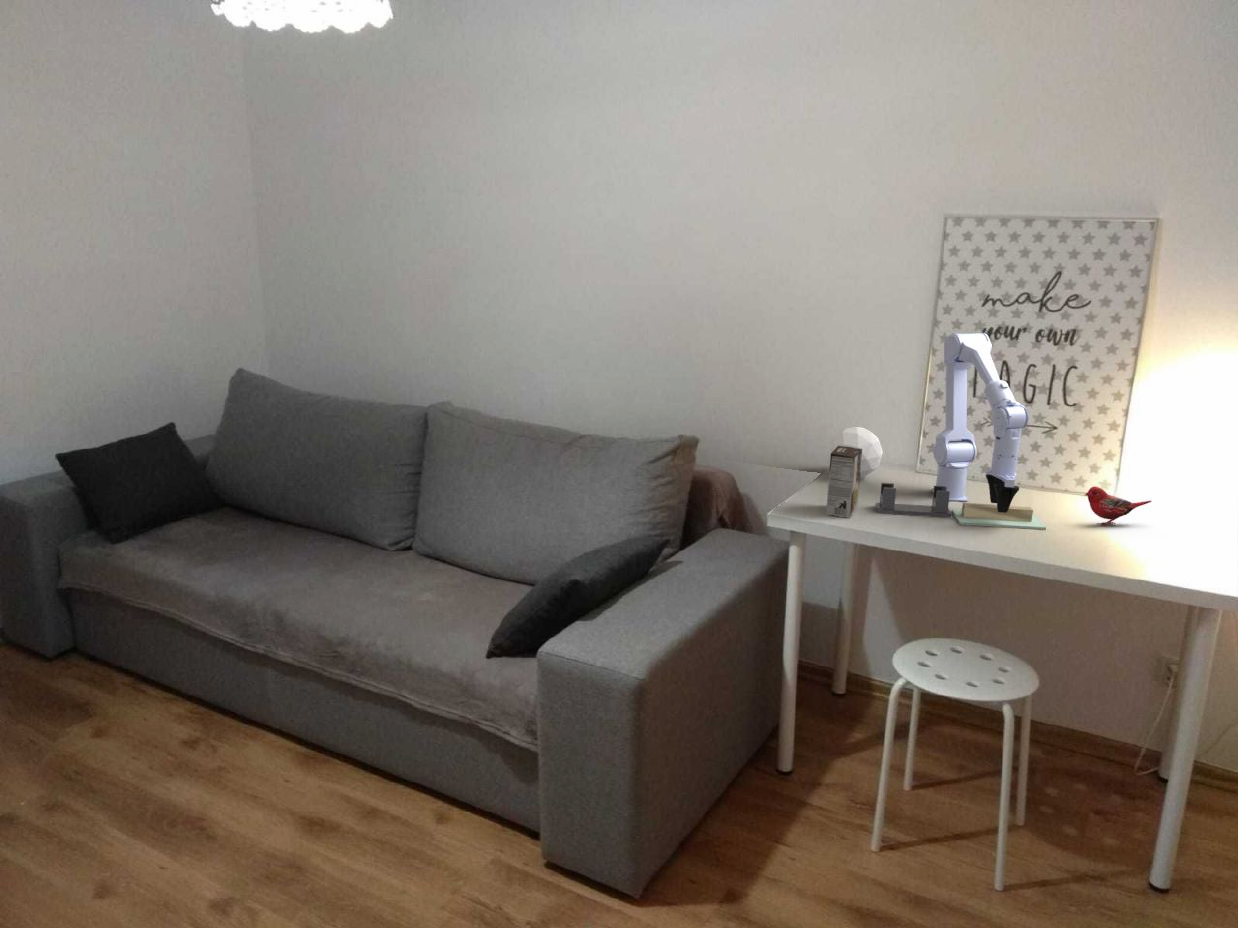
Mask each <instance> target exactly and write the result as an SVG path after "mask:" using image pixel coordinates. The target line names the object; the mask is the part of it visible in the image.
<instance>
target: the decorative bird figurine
mask: <svg viewBox="0 0 1238 928" xmlns="http://www.w3.org/2000/svg"><path fill="white" fill-rule="evenodd" d="M1084 496H1087V499H1088V502H1089V507H1090V509H1091V511H1092V512H1093V513H1094V514H1095V515H1096V516H1097V517H1099V518H1102V519H1104V520H1108V521H1105V522H1100V523H1099V522H1096V523H1095V524H1096V525H1101V526H1107V525H1109V526H1112V525H1116V523H1115V522H1114V521H1115V520H1117V519H1119V518H1122V517H1123V516H1126V515H1129V514H1130V513H1131V512H1132V511H1133V510H1135V509H1136V508H1139V507H1141V506H1143V505H1144V506H1145V505H1146V504H1150V503H1151V502H1152V501H1153V500H1145V501H1144V500H1143V501H1138V502H1131V501H1129V500H1126V499H1123V498H1121V497H1117V496H1113V495H1110V494H1108V493H1107V492H1106V491H1105V490H1104V489H1103V488H1101V487H1098V486H1091V487H1090V488H1089V489H1088V491H1087V492H1086V493H1085V494H1084Z"/></svg>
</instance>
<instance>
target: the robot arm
mask: <svg viewBox="0 0 1238 928" xmlns="http://www.w3.org/2000/svg"><path fill="white" fill-rule="evenodd" d="M992 345H993V344H992V342H991V340H990V337H989V336H988V334H986V333H985V332H979V333H956V332H955V333H954V332H953V333H952V332H951V333H950V335H948V337H946V339H945V340H944V343H943V364H944V365H945V429H943V430H942V431H941V432H940V433H938V434H937V435H936V436H935V443H934V446H933V452H932V453H933V454H932V455H933V458H934V460H935V461H936V464H937V465H938V468H937V473H936V479H935V480H936V481H935V486H946V487H947V488H946V491H949V492H950V495H949V501H954V502H955V501H956V502H969V498H968V497H967V495H965V494H966V487H967V486H966V485H967V476H968V468H969V467H971V464H972V463H973V462H974V461H975V460H976V457H977V454H978V453H977V452H978V450H977V446H976V443H975V435H974V434H973V433H972V432H971V431H970V430H968V429H967V424H968V423H967V417H968V416H967V415H968V413H967V412H968V411H967V410H968V409H967V408H968V406H967V405H968V401H967V399H968V396H967V395H968V369H969V368H970V367H971V366H972V365H973V366H974V368H975V370H976V371H977V373H978V374H979V376H980V378H981V379H982V381H983V383H984V384H985V388H984V390H983V393H984V395H985V397H986V400H987V402H988V404H989V406H990V408H991V410H992V412H993V415H992V416H991V423H992V425H993V435H994V442H993V452H992V459H991V466H990V469H985V478H986V480H987V484H988V490H989V500H990V504H996V505H997V510H998V512H1003V513H1007V511H1008V509H1009V507H1010V505H1011V503H1012V502H1013V499H1014V497H1015V496H1016V494H1017V493H1018V492H1019V490H1020V487H1019V485H1015V481H1016V480H1015V479H1016V477H1017V466H1018V458H1019V451H1020V445H1021V444H1020V443H1021V437H1022V430H1023V429H1025V428H1026V427H1027V425H1028V423H1029V412H1028V409H1027V407H1026V406H1024V405H1022V404H1021V403H1020V402H1019V401H1017V400H1016V399H1015V397H1014V394H1013V392H1012V391H1011V388H1010V386H1009V384H1008V383H1007V381H1005V380H1001V379H1000V377H999V374H998V371H997V369H996V365H995V363H994V360H993V358H992V356H991V352H992V348H993V346H992ZM933 489H934V488H931V492H932V493H933Z"/></svg>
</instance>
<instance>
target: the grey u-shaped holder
mask: <svg viewBox="0 0 1238 928" xmlns="http://www.w3.org/2000/svg"><path fill="white" fill-rule="evenodd" d="M946 488H947V487H946V486H936V485H933V488H932V489H933V492H932V499H931V500H932V501H931V505H925V504H924V505H921V504H908V503H907V504H905V503H896V495H897V493H896V492H897V488H896V487H895V484H894V483H893V482H891V483H890V482H881V486H880V495H879V502H874V503H875V504H874V506H875V509H876V511H877V512H876V513H877V514H890V515H901V516H903V515H905V516H919V517H920V516H922V517H936V518H937V517H938V518H952V516H953V513H952V510H950V509H949V502H950V500H949V495H950V492H949V491H946Z"/></svg>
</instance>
